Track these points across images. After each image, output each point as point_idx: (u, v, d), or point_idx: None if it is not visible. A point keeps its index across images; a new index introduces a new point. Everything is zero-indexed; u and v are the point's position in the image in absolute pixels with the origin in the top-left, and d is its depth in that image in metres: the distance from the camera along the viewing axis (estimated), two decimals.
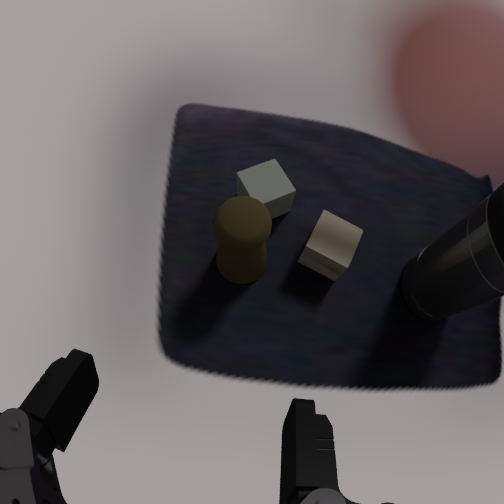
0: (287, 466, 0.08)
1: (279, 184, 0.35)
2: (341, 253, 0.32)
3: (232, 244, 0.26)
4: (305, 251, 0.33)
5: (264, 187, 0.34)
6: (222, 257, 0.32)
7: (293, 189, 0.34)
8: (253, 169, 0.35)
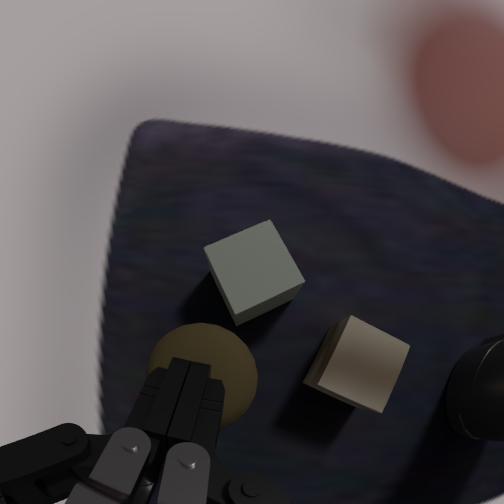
0: None
1: (276, 271, 0.20)
2: (373, 391, 0.17)
3: None
4: (315, 385, 0.19)
5: (249, 277, 0.20)
6: None
7: (300, 279, 0.20)
8: (232, 240, 0.21)
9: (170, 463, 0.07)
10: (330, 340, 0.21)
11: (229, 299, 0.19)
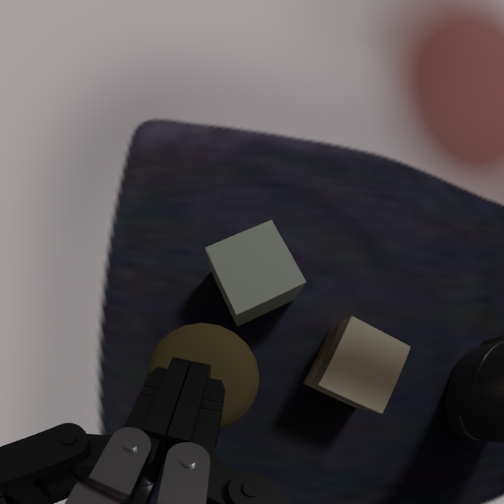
0: None
1: (277, 271, 0.20)
2: (374, 391, 0.17)
3: None
4: (316, 385, 0.19)
5: (251, 277, 0.20)
6: None
7: (301, 279, 0.20)
8: (233, 240, 0.21)
9: (170, 463, 0.07)
10: (331, 341, 0.21)
11: (230, 299, 0.20)
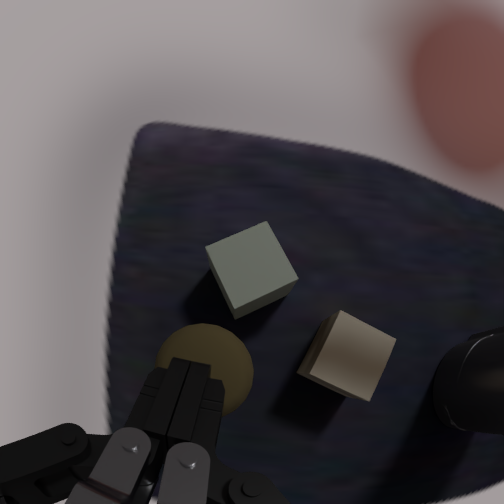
0: None
1: (272, 269, 0.22)
2: (361, 380, 0.19)
3: None
4: (307, 374, 0.21)
5: (247, 274, 0.22)
6: None
7: (294, 276, 0.22)
8: (231, 240, 0.23)
9: (170, 463, 0.07)
10: (322, 333, 0.23)
11: (229, 295, 0.21)
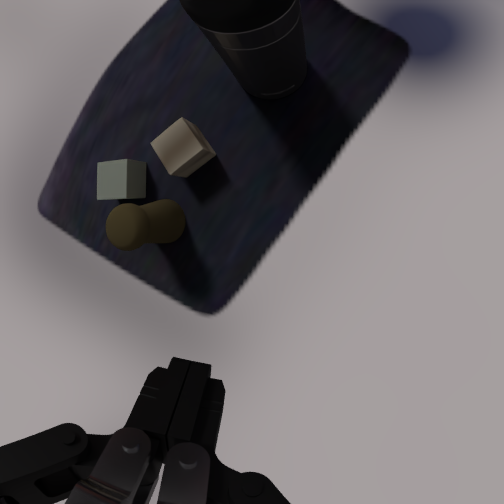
0: None
1: (117, 170, 0.36)
2: (189, 148, 0.34)
3: (137, 244, 0.31)
4: (175, 174, 0.36)
5: (115, 184, 0.36)
6: (153, 242, 0.37)
7: (125, 160, 0.36)
8: (99, 185, 0.37)
9: (170, 463, 0.07)
10: None
11: (119, 197, 0.37)
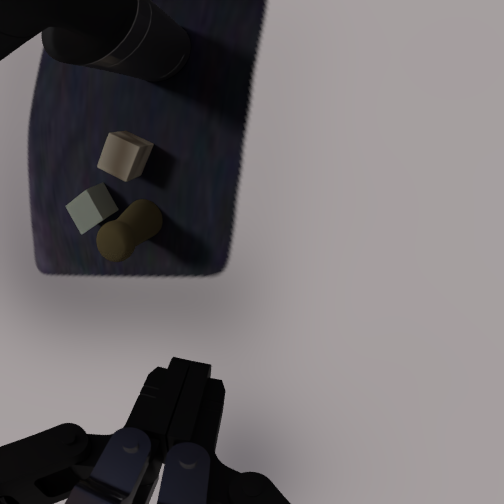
0: None
1: (84, 202, 0.39)
2: (128, 152, 0.36)
3: (130, 249, 0.35)
4: (130, 178, 0.38)
5: (88, 214, 0.40)
6: (143, 241, 0.41)
7: (85, 191, 0.38)
8: (76, 222, 0.40)
9: (170, 463, 0.07)
10: None
11: (98, 222, 0.40)
